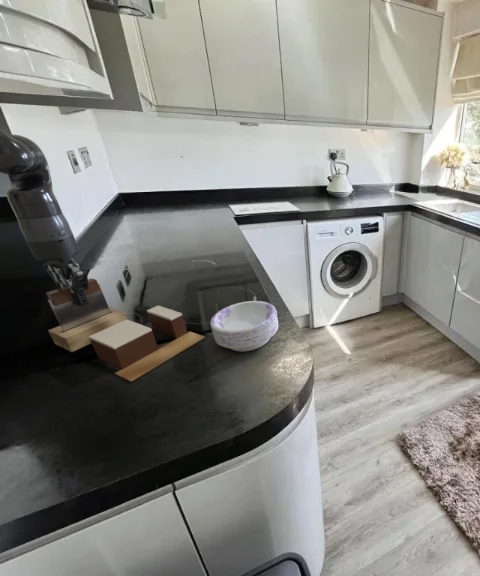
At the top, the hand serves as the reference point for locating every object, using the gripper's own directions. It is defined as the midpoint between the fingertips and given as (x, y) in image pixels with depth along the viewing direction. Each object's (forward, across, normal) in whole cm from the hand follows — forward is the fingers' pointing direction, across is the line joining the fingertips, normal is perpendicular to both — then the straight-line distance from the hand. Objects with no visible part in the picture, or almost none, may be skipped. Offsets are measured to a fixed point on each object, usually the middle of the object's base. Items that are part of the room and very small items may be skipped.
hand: (80, 304), depth 78 cm
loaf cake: (+9, +16, -1) cm, 18 cm away
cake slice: (+9, +16, +9) cm, 20 cm away
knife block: (+10, 0, 0) cm, 10 cm away
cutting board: (+10, +16, +3) cm, 19 cm away
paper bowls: (+10, +36, +16) cm, 41 cm away
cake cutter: (+7, 0, 0) cm, 7 cm away
